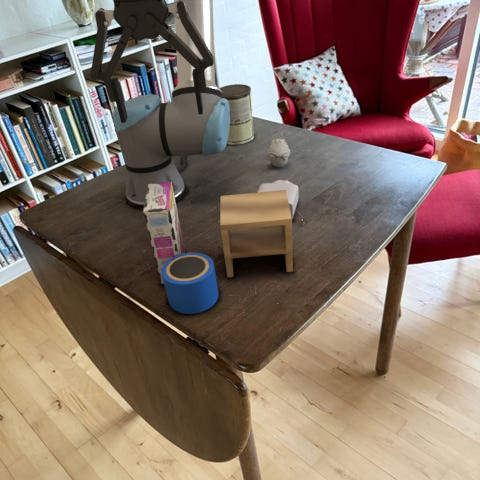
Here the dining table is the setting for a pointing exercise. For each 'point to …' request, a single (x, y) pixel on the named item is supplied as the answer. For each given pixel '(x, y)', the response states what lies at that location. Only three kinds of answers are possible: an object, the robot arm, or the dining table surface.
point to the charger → (283, 185)
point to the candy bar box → (163, 223)
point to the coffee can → (239, 113)
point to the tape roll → (190, 282)
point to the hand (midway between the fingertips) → (162, 116)
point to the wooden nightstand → (256, 226)
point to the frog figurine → (278, 152)
